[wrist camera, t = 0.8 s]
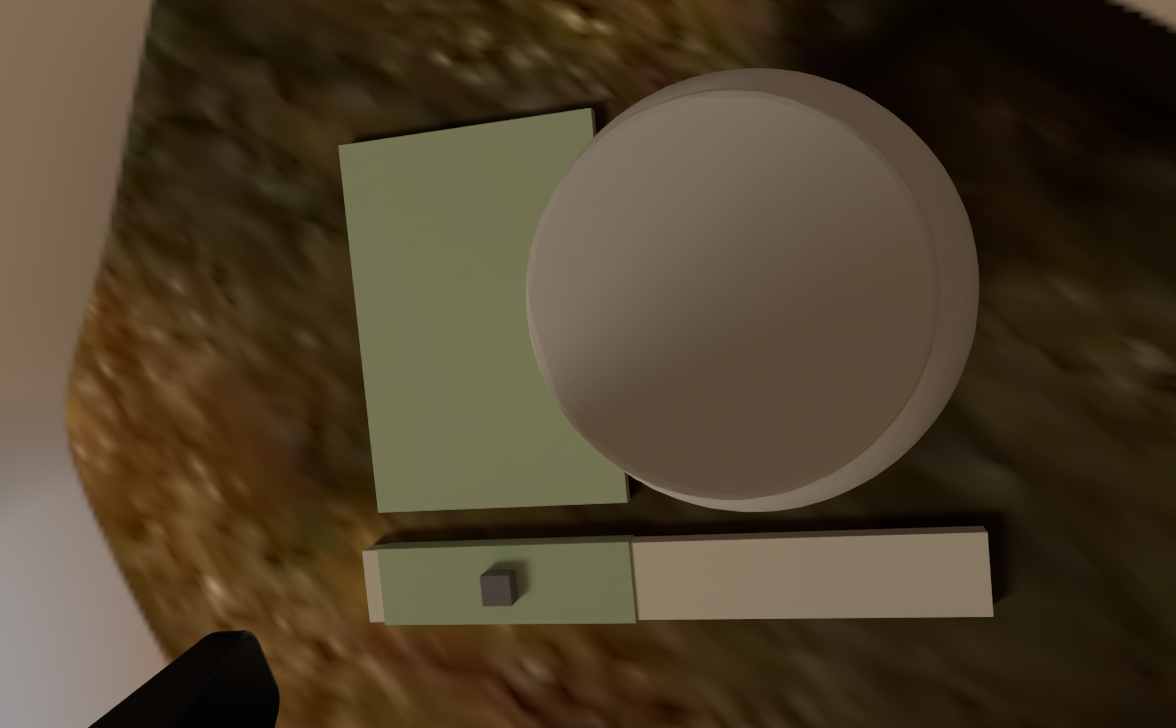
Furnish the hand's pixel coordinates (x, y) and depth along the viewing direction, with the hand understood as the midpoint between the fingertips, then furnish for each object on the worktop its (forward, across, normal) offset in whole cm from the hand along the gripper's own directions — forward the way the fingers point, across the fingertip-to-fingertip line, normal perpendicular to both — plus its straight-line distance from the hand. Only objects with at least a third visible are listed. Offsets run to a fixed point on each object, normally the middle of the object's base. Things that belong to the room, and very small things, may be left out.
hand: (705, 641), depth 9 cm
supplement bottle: (+15, -2, +3) cm, 15 cm away
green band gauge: (+14, +2, +5) cm, 15 cm away
